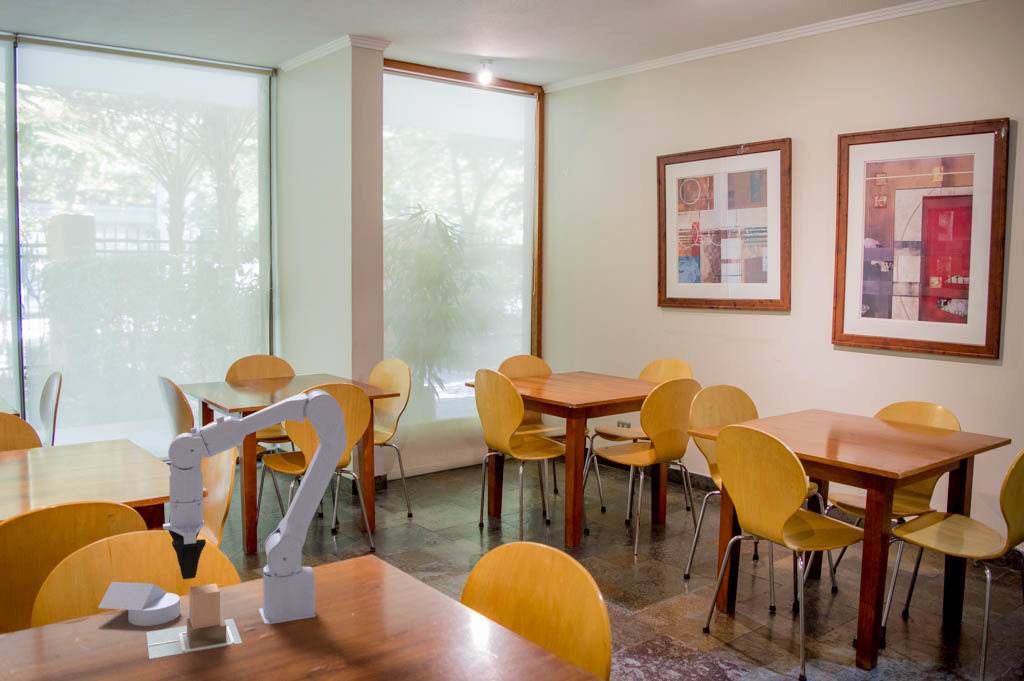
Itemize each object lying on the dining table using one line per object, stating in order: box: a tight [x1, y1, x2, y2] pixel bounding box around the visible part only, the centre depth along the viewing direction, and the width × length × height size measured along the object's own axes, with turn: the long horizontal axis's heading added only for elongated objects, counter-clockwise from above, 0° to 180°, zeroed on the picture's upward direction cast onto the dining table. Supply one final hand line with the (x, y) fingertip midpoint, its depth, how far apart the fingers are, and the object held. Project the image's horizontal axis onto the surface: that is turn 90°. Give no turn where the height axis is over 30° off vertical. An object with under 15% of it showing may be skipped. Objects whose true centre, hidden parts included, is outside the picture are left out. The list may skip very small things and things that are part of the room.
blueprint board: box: [145, 618, 243, 660], centre depth 145 cm, size 15×12×1 cm
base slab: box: [186, 613, 226, 648], centre depth 145 cm, size 6×6×3 cm
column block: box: [188, 583, 221, 629], centre depth 144 cm, size 4×4×6 cm
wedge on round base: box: [97, 581, 181, 627], centre depth 155 cm, size 9×7×13 cm
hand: (187, 571), depth 150 cm, fingers open, 7 cm apart
